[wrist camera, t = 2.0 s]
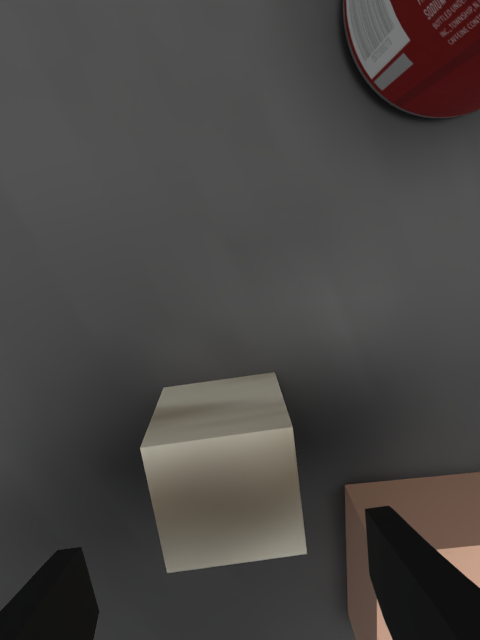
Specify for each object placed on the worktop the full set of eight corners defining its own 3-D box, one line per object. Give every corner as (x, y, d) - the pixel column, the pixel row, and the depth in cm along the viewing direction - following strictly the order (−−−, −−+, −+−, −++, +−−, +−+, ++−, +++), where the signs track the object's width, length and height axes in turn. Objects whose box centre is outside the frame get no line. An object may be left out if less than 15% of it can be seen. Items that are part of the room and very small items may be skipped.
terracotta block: (490, 594, 19) (557, 688, 15) (346, 608, 19) (377, 706, 15) (500, 466, 18) (579, 535, 14) (343, 481, 17) (376, 555, 14)
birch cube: (286, 469, 17) (306, 553, 13) (182, 483, 17) (167, 573, 13) (274, 371, 16) (292, 426, 12) (163, 386, 16) (140, 448, 12)
